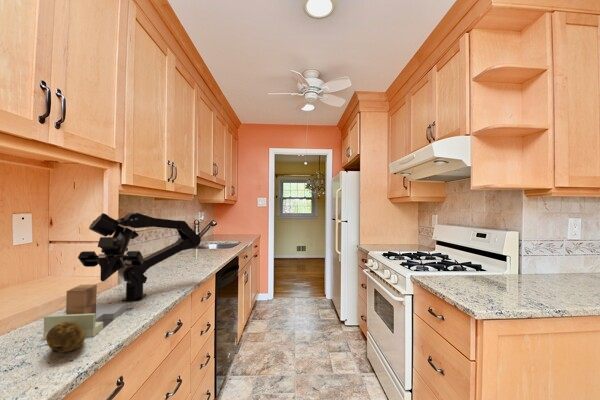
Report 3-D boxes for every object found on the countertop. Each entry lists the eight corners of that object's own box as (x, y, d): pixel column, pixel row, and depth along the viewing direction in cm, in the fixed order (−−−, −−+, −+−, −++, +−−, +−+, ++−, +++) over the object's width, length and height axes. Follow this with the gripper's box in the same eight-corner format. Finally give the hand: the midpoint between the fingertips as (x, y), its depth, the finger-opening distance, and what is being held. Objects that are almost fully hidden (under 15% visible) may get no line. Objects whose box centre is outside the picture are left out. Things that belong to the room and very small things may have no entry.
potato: (97, 336, 76) (98, 307, 76) (74, 363, 63) (74, 328, 63) (61, 340, 73) (62, 310, 73) (29, 368, 61) (30, 332, 61)
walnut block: (79, 318, 82) (80, 284, 82) (96, 317, 83) (96, 284, 83) (65, 327, 76) (66, 291, 77) (83, 326, 77) (84, 290, 77)
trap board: (88, 310, 93) (88, 292, 93) (126, 309, 95) (127, 291, 95) (43, 339, 74) (43, 317, 74) (93, 336, 75) (93, 314, 75)
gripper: (82, 227, 94) (58, 267, 82) (141, 227, 97) (126, 266, 86) (94, 247, 101) (74, 286, 90) (149, 247, 104) (136, 284, 93)
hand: (102, 280), depth 90 cm, fingers closed
